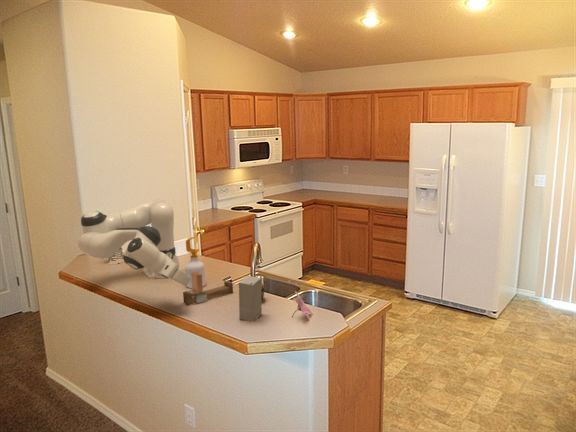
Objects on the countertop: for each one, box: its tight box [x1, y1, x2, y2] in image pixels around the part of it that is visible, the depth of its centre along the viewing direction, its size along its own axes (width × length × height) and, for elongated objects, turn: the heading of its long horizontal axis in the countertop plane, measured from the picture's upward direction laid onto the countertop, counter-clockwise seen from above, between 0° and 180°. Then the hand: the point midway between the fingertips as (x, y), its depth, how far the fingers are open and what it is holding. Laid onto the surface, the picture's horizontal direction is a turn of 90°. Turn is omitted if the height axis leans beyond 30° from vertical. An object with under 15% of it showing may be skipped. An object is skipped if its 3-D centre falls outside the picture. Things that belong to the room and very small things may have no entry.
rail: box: [182, 280, 234, 306], centre depth 206 cm, size 4×23×5 cm, turn 129°
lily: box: [291, 290, 313, 321], centre depth 182 cm, size 12×12×10 cm
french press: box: [108, 247, 124, 261], centre depth 266 cm, size 10×12×25 cm
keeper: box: [188, 272, 208, 304], centre depth 202 cm, size 7×5×12 cm
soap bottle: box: [184, 235, 206, 289], centre depth 221 cm, size 9×9×25 cm
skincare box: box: [238, 275, 263, 322], centre depth 183 cm, size 8×7×16 cm
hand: (185, 283), depth 199 cm, fingers closed
